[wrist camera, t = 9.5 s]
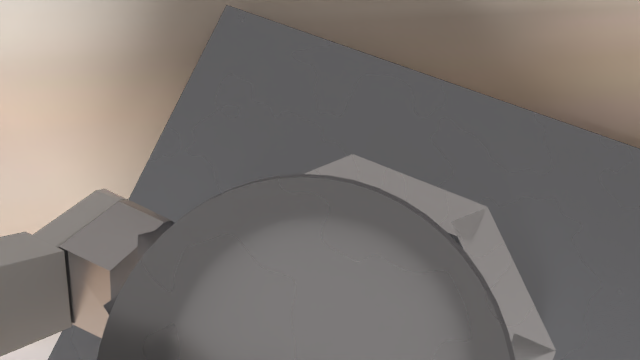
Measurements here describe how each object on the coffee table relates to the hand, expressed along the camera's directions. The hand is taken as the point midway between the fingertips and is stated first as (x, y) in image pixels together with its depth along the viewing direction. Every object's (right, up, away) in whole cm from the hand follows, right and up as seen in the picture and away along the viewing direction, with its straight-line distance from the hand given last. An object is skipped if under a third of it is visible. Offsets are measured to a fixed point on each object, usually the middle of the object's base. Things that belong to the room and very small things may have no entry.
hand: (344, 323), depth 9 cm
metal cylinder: (0, -2, +6) cm, 6 cm away
